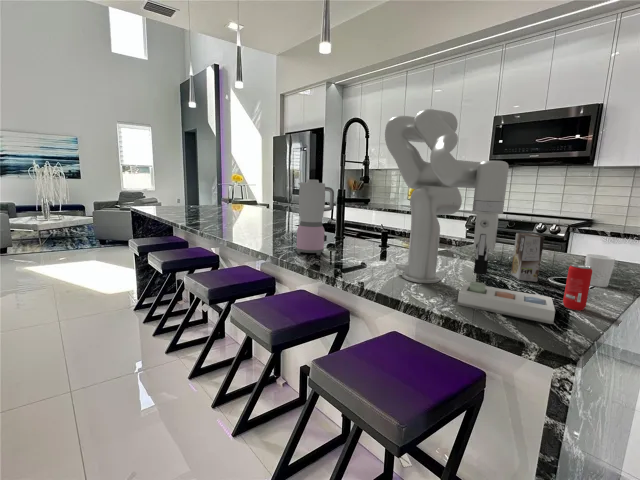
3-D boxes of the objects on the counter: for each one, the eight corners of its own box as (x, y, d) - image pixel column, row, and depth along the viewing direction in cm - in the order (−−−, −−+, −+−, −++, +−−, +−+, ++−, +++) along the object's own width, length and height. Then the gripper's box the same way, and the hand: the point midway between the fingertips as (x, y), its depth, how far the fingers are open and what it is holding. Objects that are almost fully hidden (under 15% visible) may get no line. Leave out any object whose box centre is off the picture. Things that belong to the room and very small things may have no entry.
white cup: (603, 282, 124) (609, 255, 122) (614, 289, 116) (619, 260, 114) (577, 280, 126) (582, 253, 124) (586, 285, 119) (591, 257, 117)
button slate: (525, 309, 90) (526, 300, 89) (524, 305, 93) (526, 295, 93) (543, 313, 88) (544, 303, 87) (542, 308, 91) (543, 299, 91)
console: (457, 304, 94) (458, 292, 94) (463, 293, 105) (464, 282, 104) (553, 324, 84) (555, 311, 83) (549, 309, 94) (551, 297, 93)
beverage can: (557, 304, 98) (564, 263, 96) (574, 304, 99) (581, 263, 97) (572, 311, 93) (580, 268, 91) (590, 311, 94) (598, 268, 92)
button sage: (468, 293, 96) (469, 284, 96) (469, 289, 100) (471, 281, 99) (483, 296, 94) (485, 287, 94) (485, 292, 98) (486, 283, 97)
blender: (294, 255, 147) (296, 179, 141) (296, 249, 159) (299, 179, 153) (331, 256, 146) (335, 180, 141) (330, 250, 158) (334, 180, 153)
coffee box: (538, 282, 121) (545, 236, 118) (518, 280, 122) (525, 235, 119) (528, 275, 130) (534, 233, 127) (509, 273, 131) (515, 231, 128)
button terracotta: (495, 303, 93) (496, 294, 93) (496, 299, 97) (497, 290, 96) (512, 307, 91) (513, 297, 91) (512, 302, 95) (513, 293, 94)
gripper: (502, 210, 84) (493, 282, 88) (504, 207, 97) (496, 270, 100) (469, 208, 88) (461, 277, 91) (475, 205, 101) (469, 266, 104)
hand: (480, 273), depth 96 cm, fingers closed
